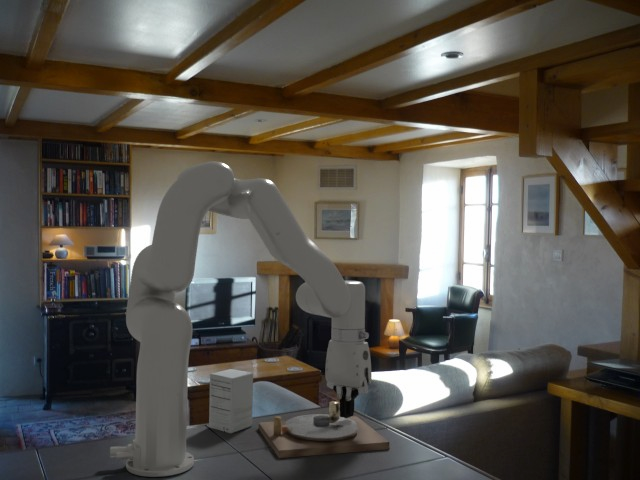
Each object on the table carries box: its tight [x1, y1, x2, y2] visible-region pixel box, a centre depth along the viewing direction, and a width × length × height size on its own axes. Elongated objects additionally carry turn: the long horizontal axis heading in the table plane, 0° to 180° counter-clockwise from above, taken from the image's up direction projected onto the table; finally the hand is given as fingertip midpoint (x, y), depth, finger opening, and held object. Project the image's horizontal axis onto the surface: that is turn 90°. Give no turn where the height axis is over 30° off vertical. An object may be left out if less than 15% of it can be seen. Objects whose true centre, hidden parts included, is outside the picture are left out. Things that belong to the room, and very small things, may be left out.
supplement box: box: [208, 368, 254, 434], centre depth 148 cm, size 7×7×13 cm
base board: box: [258, 415, 390, 459], centre depth 140 cm, size 24×20×5 cm
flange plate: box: [281, 400, 358, 441], centre depth 140 cm, size 16×17×5 cm
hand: (346, 416), depth 144 cm, fingers closed
